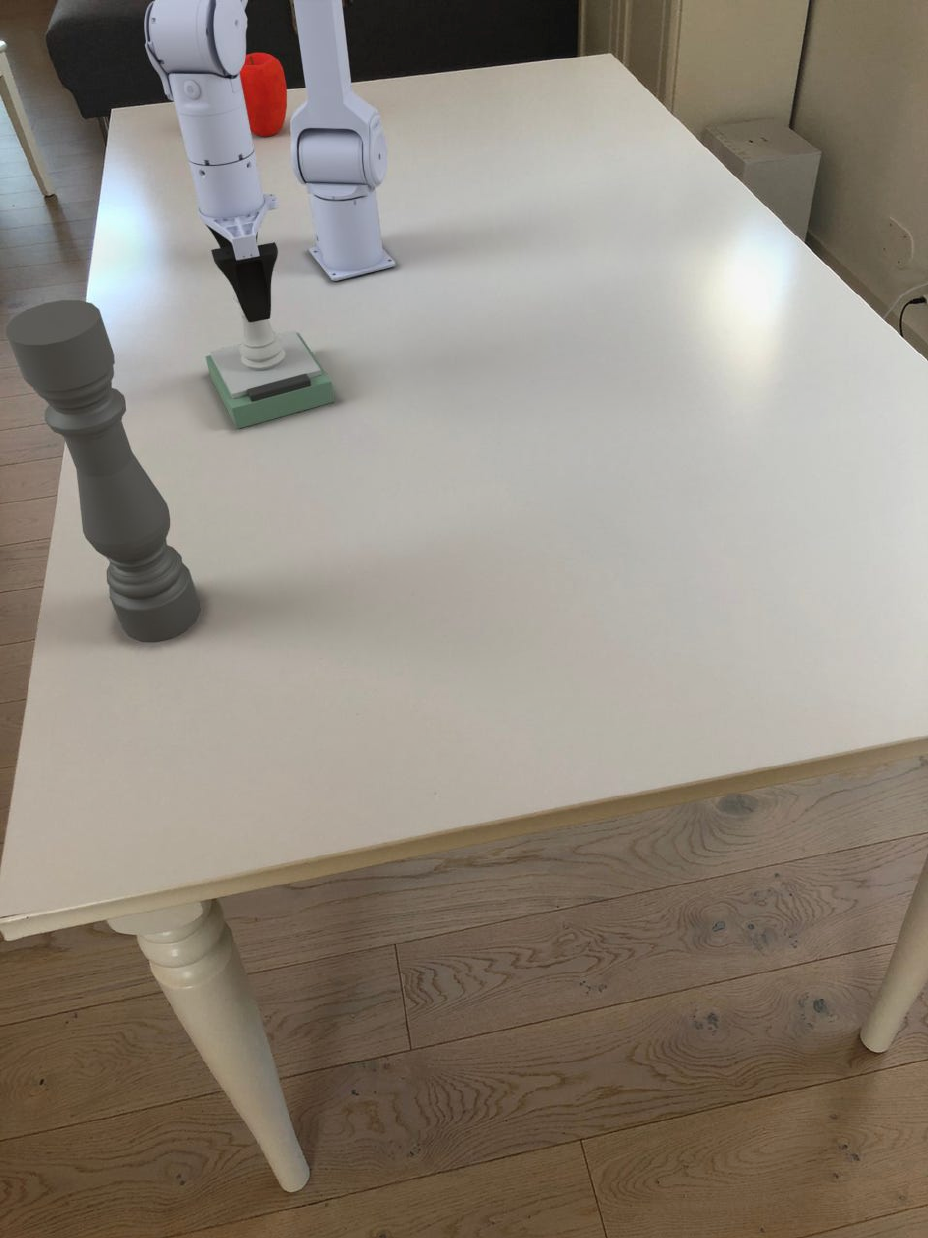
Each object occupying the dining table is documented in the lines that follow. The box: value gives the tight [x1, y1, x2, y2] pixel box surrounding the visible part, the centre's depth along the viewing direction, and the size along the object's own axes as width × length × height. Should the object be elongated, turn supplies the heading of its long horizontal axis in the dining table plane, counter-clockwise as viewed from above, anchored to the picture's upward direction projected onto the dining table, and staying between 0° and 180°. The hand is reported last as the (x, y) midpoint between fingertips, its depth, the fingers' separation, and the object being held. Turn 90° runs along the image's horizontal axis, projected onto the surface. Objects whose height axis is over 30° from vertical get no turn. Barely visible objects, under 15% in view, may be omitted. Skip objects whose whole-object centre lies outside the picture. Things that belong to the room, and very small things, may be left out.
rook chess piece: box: [231, 291, 285, 370], centre depth 98 cm, size 4×4×8 cm
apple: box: [239, 52, 288, 138], centre depth 153 cm, size 9×9×11 cm
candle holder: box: [5, 299, 201, 643], centre depth 71 cm, size 6×6×25 cm
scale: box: [204, 329, 335, 430], centre depth 101 cm, size 11×10×3 cm
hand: (253, 300), depth 96 cm, fingers open, 7 cm apart
